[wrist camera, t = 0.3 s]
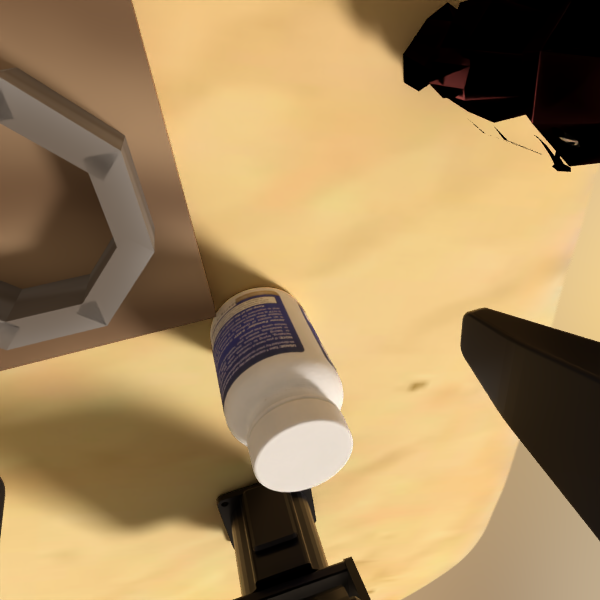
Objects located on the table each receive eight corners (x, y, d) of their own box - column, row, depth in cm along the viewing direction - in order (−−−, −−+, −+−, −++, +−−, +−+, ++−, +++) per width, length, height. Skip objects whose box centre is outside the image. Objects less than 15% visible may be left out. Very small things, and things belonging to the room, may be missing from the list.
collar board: (214, 306, 22) (223, 347, 19) (-42, 369, 20) (-74, 425, 17) (121, -39, 15) (113, -54, 12) (-306, 9, 13) (-441, 4, 10)
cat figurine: (369, 121, 20) (584, 214, 10) (405, -75, 16) (789, -233, 6) (499, 132, 22) (784, 218, 12) (555, -40, 18) (1018, -119, 8)
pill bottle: (192, 350, 23) (209, 495, 16) (237, 269, 22) (279, 391, 14) (276, 374, 26) (323, 510, 19) (322, 304, 24) (394, 422, 17)
